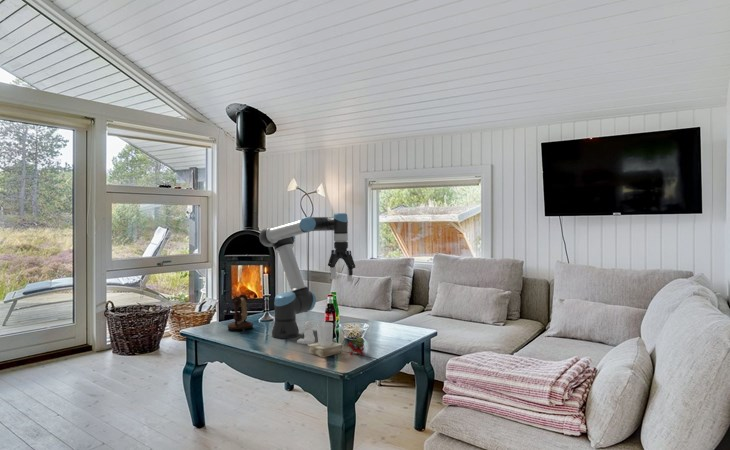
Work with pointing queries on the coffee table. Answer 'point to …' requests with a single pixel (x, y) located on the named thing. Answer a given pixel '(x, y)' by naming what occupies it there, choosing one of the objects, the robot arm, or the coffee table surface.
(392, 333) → the coffee table surface
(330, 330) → the white cup
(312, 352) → the birch stand
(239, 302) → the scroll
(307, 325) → the sitting furry creature
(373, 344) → the coffee table surface
